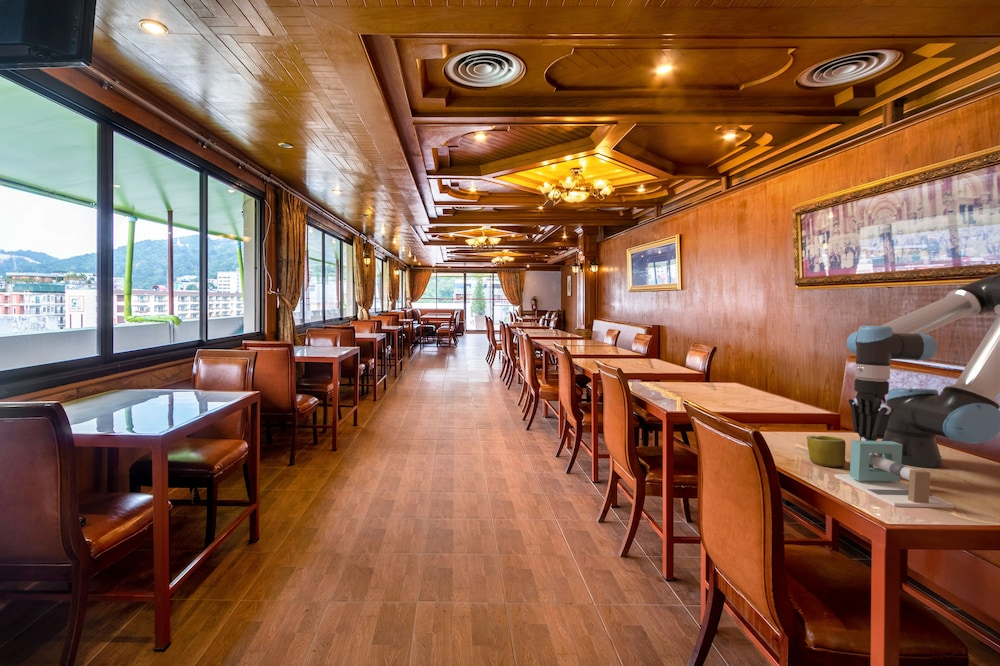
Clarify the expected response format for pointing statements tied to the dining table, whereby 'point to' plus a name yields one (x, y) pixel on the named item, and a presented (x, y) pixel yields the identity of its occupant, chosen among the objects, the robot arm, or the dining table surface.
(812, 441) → the mug
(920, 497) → the pipe rail
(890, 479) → the collar
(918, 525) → the dining table surface
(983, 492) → the dining table surface
